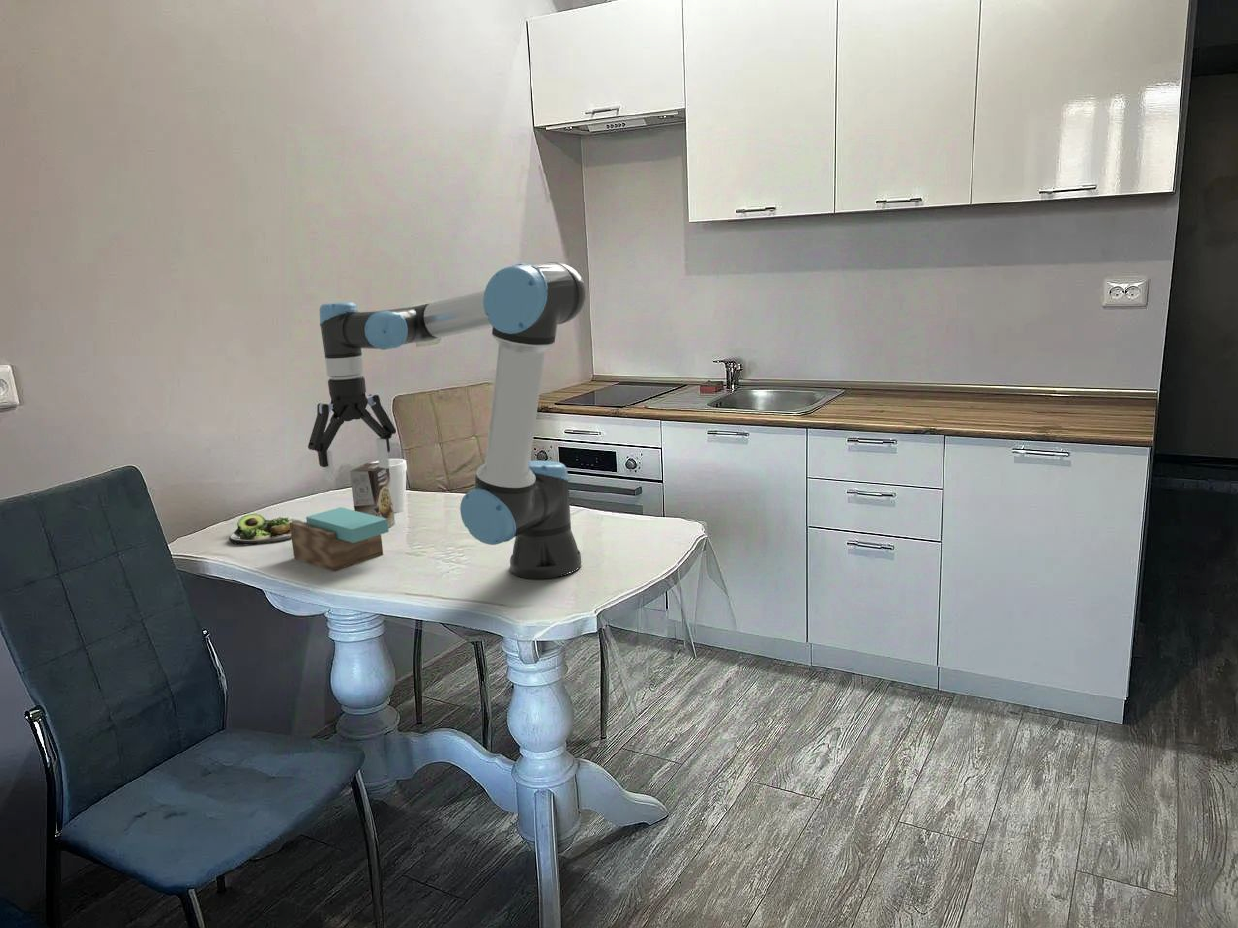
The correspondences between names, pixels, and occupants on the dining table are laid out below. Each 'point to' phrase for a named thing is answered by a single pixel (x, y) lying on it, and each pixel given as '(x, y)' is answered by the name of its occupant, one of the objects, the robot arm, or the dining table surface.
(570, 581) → the dining table surface
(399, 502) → the foam cup
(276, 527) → the salad plate
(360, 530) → the lid
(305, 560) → the walnut box
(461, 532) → the dining table surface
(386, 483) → the coffee box
